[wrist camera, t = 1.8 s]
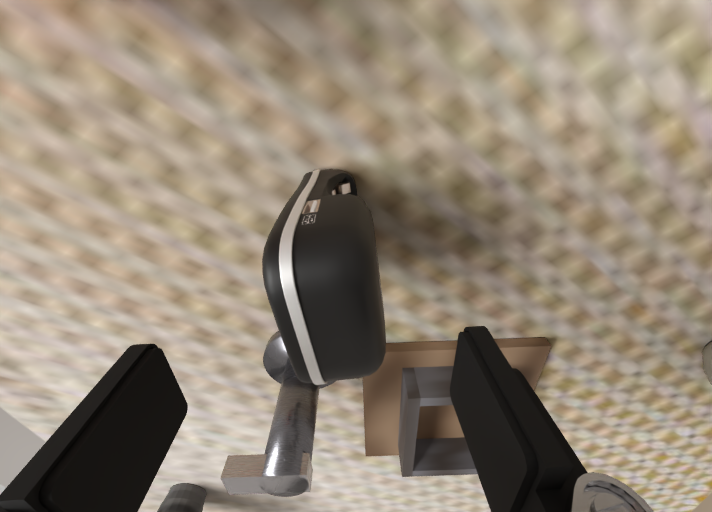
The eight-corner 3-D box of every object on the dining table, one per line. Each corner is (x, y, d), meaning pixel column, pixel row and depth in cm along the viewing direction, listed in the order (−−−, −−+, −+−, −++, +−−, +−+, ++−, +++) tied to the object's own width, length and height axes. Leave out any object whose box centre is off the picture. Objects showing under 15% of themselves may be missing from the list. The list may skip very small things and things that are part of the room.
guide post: (342, 323, 25) (338, 449, 16) (347, 379, 28) (345, 509, 19) (259, 326, 25) (208, 454, 16) (273, 382, 28) (238, 513, 19)
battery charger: (375, 256, 22) (396, 397, 12) (324, 263, 22) (301, 407, 12) (363, 158, 18) (378, 238, 8) (303, 167, 18) (246, 256, 8)
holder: (544, 337, 26) (575, 375, 22) (506, 441, 33) (524, 482, 30) (361, 344, 26) (363, 383, 22) (365, 446, 34) (366, 488, 30)
